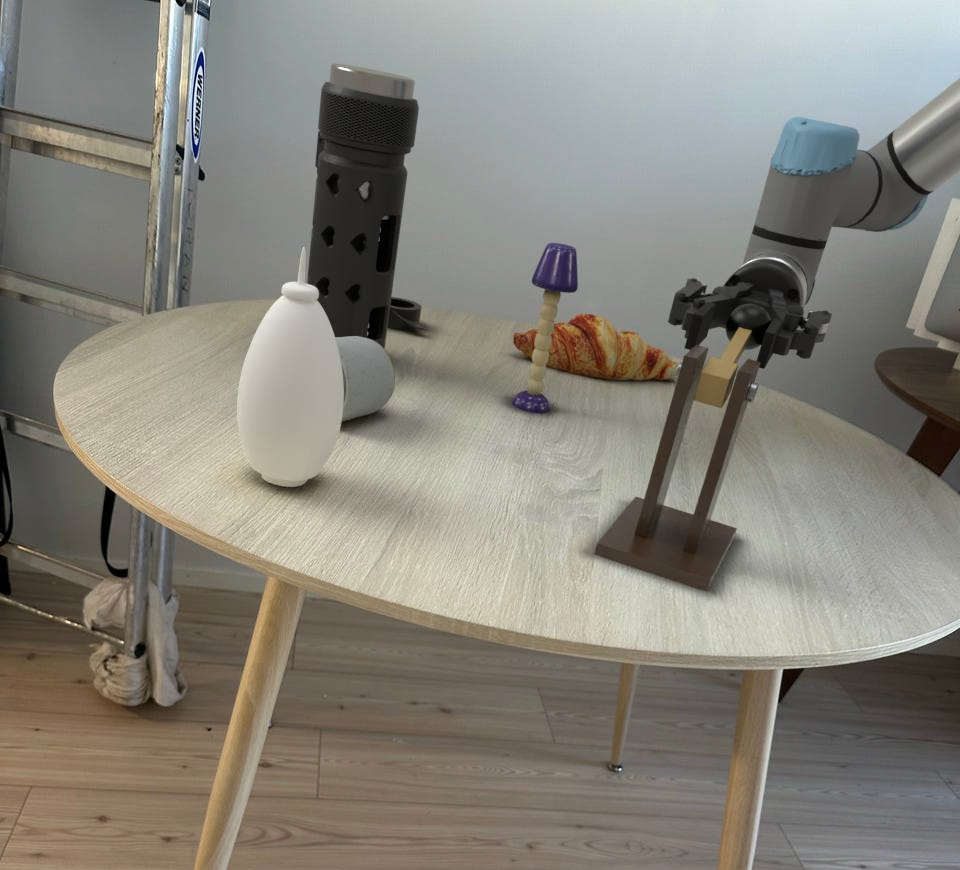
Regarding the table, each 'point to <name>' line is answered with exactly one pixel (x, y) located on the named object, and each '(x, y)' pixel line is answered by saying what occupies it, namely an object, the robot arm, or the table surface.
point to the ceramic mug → (364, 376)
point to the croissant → (600, 351)
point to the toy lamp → (547, 318)
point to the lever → (732, 353)
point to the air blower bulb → (291, 388)
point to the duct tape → (404, 315)
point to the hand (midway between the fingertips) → (729, 341)
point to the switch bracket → (647, 522)
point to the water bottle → (360, 196)
